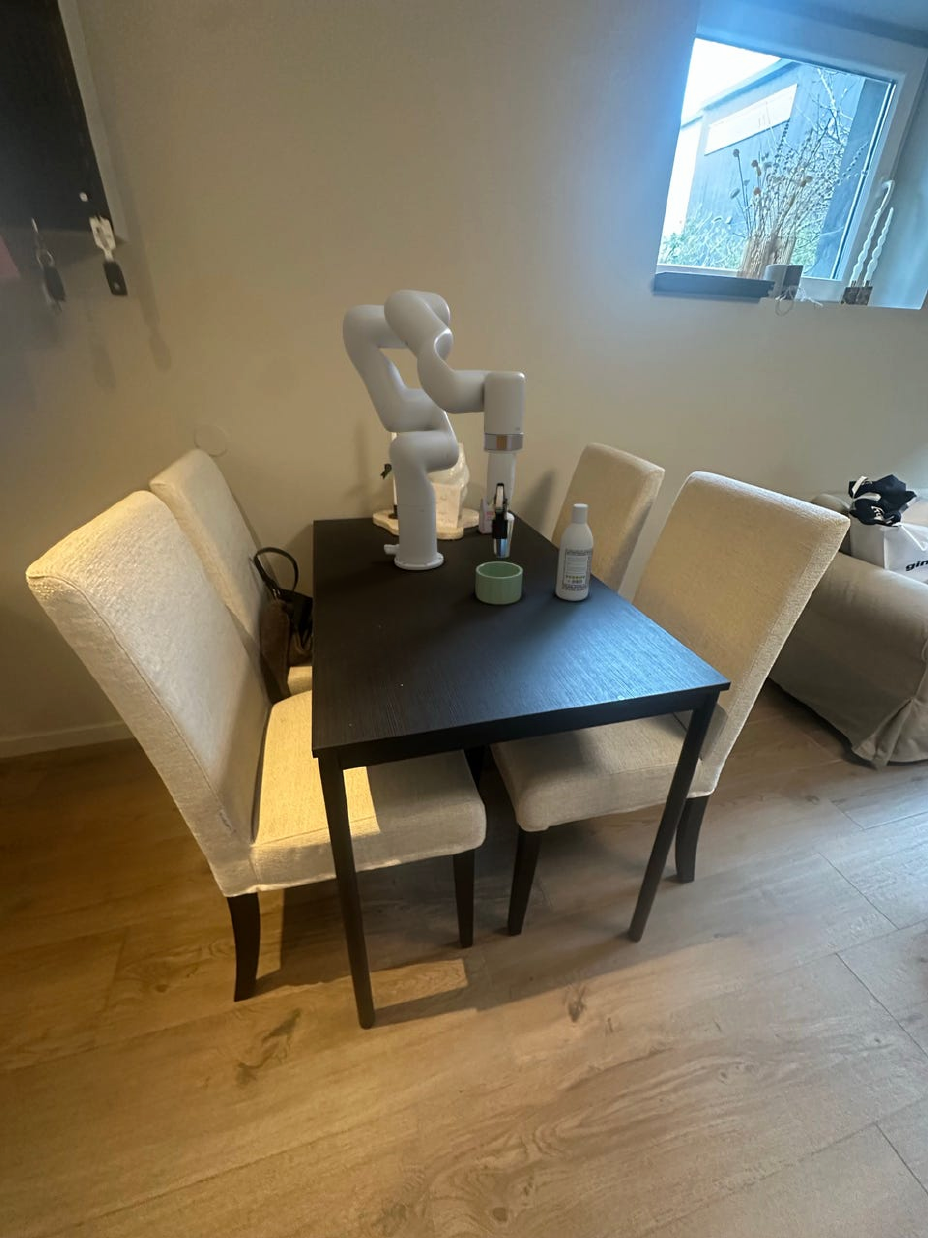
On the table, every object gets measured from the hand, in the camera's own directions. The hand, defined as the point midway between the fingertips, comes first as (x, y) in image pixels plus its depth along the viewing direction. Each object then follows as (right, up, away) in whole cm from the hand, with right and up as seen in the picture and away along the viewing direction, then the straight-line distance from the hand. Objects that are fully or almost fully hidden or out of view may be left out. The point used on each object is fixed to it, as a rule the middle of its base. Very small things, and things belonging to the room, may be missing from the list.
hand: (500, 533), depth 104 cm
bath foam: (+16, -13, +6) cm, 21 cm away
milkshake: (0, -4, +2) cm, 5 cm away
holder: (0, -12, +6) cm, 14 cm away
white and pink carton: (+1, +9, +50) cm, 50 cm away
